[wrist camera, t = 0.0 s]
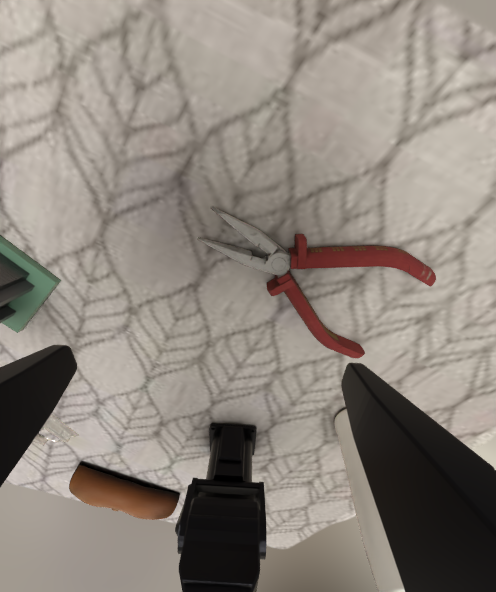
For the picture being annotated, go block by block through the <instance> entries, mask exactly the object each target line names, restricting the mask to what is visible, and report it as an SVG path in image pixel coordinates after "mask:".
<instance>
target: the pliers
mask: <svg viewBox="0 0 496 592" xmlns="http://www.w3.org/2000/svg"><path fill="white" fill-rule="evenodd" d="M211 209H212V210H213V211H215V212H216V213H217V214H218V215H219V216H220V217H222V218H223V219H224V220H225V221H226V222H228V223H229V224H230V225H231V226H232V227H233V228H235V229H236V230H237V231H238V232H239V233H240V234H242V235H243V236H244V237H245V238H246V239H248V240H249V241H250V242H251V243H253V244H254V245H255V246H256V247H257V246H258V247H259V248H260V249H262V250H263V251H264V252H265V253H267V256H266V255H265V257H264V258H263V259H262V258H258V257H255V256H252V251H250V250H247V249H243V248H239V247H236V246H231V245H227V244H223V243H219V242H215V241H211V240H207V239H203V238H199V237H198V239H197V240H199V241H201V242H203V243H205V244H206V245H208V246H210V247H212V248H214V249H215V250H217V251H219V252H221V253H223V254H224V255H226V256H228V257H230V258H232V259H234V260H235V261H237V262H239V263H241V264H243V265H245V266H248V267H251V268H254V269H257V270H260V271H264V272H267V273H271V274H274V275H275V278H274V279H272V280H271V281H269V282H267V290H268V292H269V293H270V295H271V296H275V295H278V294H279V293H281V292H283V291H284V292H285V294H286V295H287V297H288V298H289V300H290V301H291V303H292V304H293V306H294V307H295V309H296V310H297V312H298V314H299V315H300V317H301V318H302V320H303V321H304V323H305V324H306V326H307V327H308V329H309V330H310V332H311V333H312V334H313V335H314V337H315V338H316V339H317V340H318V341H319V342H320V343H322V344H323V345H324V346H326V347H327V348H329V349H331V350H334V351H337V352H339V353H342V354H344V355H347V356H349V357H352V358H360V357H362V356H363V355H364V354H365V352H364V350H363V348H362V347H361V346H360V345H359V344H357V343H355V342H353V341H351V340H348V339H346V338H344V337H341V336H339V335H337V334H335V333H333V332H331V331H330V330H328V329H327V328H326V327H325V326H324V325H323V323H322V322H321V321H320V319H319V318H318V316H317V315H316V313H315V311H314V310H313V308H312V307H311V305H310V303H309V302H308V300H307V299H306V297H305V295H304V294H303V292H302V291H301V289H300V287H299V286H298V284H297V283H296V281H295V279H294V278H293V276H292V275H291V273H290V271H289V268H290V267H291V269H305V268H336V267H369V266H383V267H392V268H397V269H400V270H403V271H405V272H408V273H409V274H411V275H412V276H414V277H416V278H417V279H419V280H420V281H422V282H424V283H425V284H427V285H429V286H430V287H431V286H432V285H433V284H434V282H435V280H436V276H435V273H434V272H433V270H432V269H431V268H430V267H428V266H426V265H425V264H424V263H422V262H421V261H419V260H418V259H416V258H415V257H413V256H412V255H410V254H409V253H407V252H405V251H403V250H400V249H397V248H392V247H385V246H347V247H318V248H307V240H306V237H305V236H304V235H303V234H295V248H289V250H288V253H287V252H286V251H285V250H284V249H283V248H281V247H280V246H279V245H278V244H276V243H275V242H274V241H273V240H272V239H270V238H269V237H268V236H266V235H265V234H264V233H263V232H261V231H260V230H259V229H257V228H255V227H253V226H251V225H249V224H247V223H245V222H243V221H241V220H239V219H237V218H235V217H233V216H231V215H229V214H227V213H224V212H222V211H220V210H218V209H216V208H214V207H211Z"/></svg>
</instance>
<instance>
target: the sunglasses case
mask: <svg viewBox="0 0 496 592" xmlns="http://www.w3.org/2000/svg"><path fill="white" fill-rule="evenodd" d="M81 464H82V463H81V462H80V464H79V465H78V467H77V469H76V470H75V472H74V474H73V476H72V478H71V480H70V484H69V489H70V492H71V493H72V494H73V495H75V496H76V497H77V498H78V499H80V500H81V501H83V502H84V503H87V504H89V505H92V506H96V507H107V508H112V510H114V511H118V510H120V511H123V512H125V513H128V514H129V515H132V516H134V517H137V518H141V519H152V520H154V519H163V518H167V517H169V516H170V515H171V514H172V513H173V512H174V510H175V508H176V506H177V503H178V500H179V496H180V493H178V494H177V493H174V492H169V491H163V490H160V489H154V488H150V487H143V486H141V485H139V484H136V483H133V482H130V481H127V480H123V479H119V478H117V477H115V476H112V475H109V474H105V473H102V472H99V471H96V470H93V469H90V468H87V467H85V466H82V465H81Z"/></svg>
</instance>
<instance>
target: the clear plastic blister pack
mask: <svg viewBox="0 0 496 592" xmlns="http://www.w3.org/2000/svg"><path fill="white" fill-rule="evenodd" d="M44 428H45V429H46V430H48V431H49V432H50V433H52V434H53V435H54V436H56V437H57V438H59V439H60V440H59V441H54V440H51V439H48V438H45V437H42V436H39V435H38V434H37V436H36V437H35V439H34V440H33V441H32V442H35V443H39V444H42V445H45V443H46V442H47V441H48V440H51V441H54V442H60V441H63V442H64V443H65V442H68V441H69V440H70V438H72V437H75V436H79V434H77V433H76V432H75V431H73V430H72V429H71V428H70V427H68V426H67V425H66V424H64V423H63V422H62V421H61V420H59V419H58V418H57V417H55V416H54V415H53V414H52V413H51V415H50V417H49V418H48V420H47V421H46V423H45V424H44V426H43V427H42V429H41V430H43V429H44ZM41 430H40V431H41Z"/></svg>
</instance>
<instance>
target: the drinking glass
mask: <svg viewBox="0 0 496 592" xmlns="http://www.w3.org/2000/svg"><path fill="white" fill-rule="evenodd" d="M334 425H335V429H336V432H337V435H338V439H339V443H340V447H341V451H342V455H343V460H344V464H345V468H346V473H347V477H348V481H349V486H350V490H351V495H352V499H353V503H354V508H355V512H356V516H357V521H358V525H359V528H360V533H361V537H362V540H363V544H364V548H365V551H366V554H367V558H368V561H369V564H370V568H371V570H372V574H373V577H374V580H375V583H376V586H377V589H378V592H405V590H404V587H403V584H402V581H401V578H400V575H399V572H398V569H397V566H396V563H395V560H394V557H393V554H392V551H391V548H390V545H389V542H388V539H387V536H386V533H385V530H384V527H383V524H382V521H381V519H380V516H379V513H378V510H377V507H376V504H375V501H374V498H373V495H372V492H371V489H370V486H369V483H368V480H367V477H366V474H365V471H364V468H363V465H362V462H361V459H360V456H359V453H358V450H357V448H356V444H355V441H354V438H353V434H352V431H351V426H350V422H349V418H348V413H347V409H345V410H343V411H341V412H340V413H339V414H338V415H337V416H336V418H335V421H334Z"/></svg>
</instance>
